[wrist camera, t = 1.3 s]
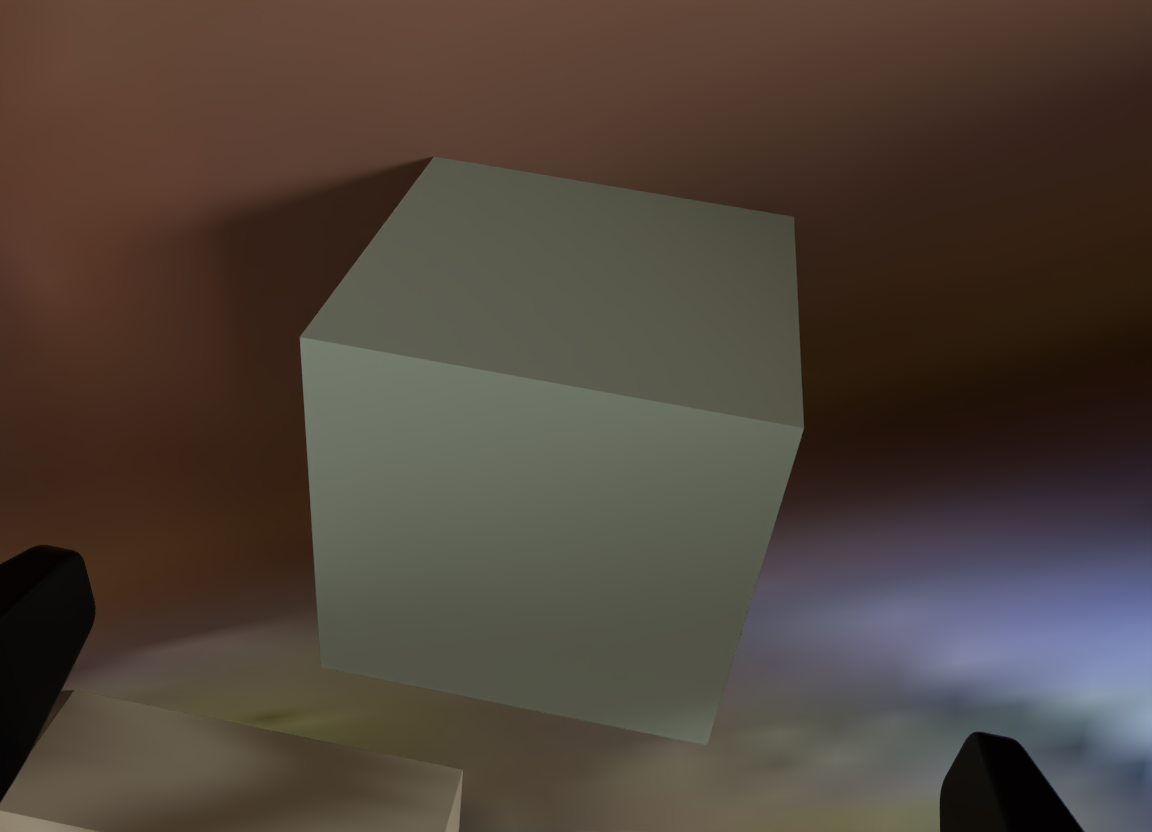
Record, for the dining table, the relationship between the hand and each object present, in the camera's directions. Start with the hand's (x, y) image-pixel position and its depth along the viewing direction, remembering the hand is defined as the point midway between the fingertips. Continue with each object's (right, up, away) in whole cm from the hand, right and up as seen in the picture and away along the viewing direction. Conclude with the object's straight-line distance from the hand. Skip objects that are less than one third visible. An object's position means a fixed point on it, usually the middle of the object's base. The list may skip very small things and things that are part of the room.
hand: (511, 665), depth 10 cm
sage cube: (+1, +4, +5) cm, 7 cm away
